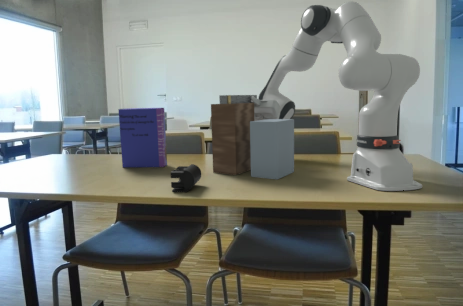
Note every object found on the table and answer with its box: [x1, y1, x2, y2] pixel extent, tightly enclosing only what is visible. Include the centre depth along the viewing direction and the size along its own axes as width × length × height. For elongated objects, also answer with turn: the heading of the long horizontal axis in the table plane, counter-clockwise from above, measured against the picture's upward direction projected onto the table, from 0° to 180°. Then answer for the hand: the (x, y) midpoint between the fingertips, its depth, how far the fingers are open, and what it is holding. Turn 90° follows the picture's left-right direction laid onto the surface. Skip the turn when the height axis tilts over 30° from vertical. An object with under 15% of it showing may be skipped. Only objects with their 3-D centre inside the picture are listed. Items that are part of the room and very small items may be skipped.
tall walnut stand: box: [210, 103, 255, 176], centre depth 134 cm, size 14×10×25 cm
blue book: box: [118, 107, 168, 169], centre depth 147 cm, size 17×5×24 cm, turn 84°
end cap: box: [170, 164, 202, 193], centre depth 109 cm, size 10×7×7 cm
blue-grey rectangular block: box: [250, 118, 295, 180], centre depth 125 cm, size 14×10×19 cm
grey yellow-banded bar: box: [219, 94, 258, 104], centre depth 135 cm, size 22×4×3 cm, turn 147°
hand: (246, 97), depth 139 cm, fingers closed on grey yellow-banded bar, 3 cm apart
